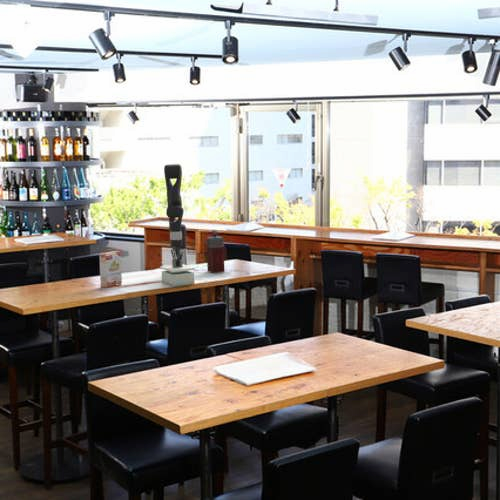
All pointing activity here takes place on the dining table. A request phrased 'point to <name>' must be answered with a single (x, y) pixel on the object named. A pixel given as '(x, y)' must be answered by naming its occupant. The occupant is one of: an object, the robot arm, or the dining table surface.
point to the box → (178, 278)
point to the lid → (177, 269)
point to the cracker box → (110, 268)
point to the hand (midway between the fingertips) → (177, 266)
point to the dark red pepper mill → (215, 253)
